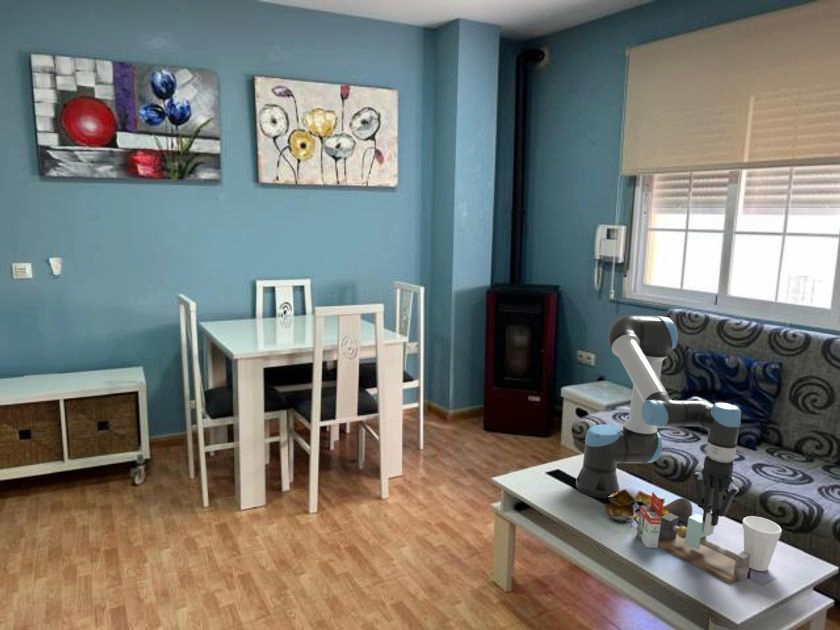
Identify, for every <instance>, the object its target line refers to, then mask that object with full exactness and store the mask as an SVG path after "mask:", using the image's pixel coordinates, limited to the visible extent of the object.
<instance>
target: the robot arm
mask: <svg viewBox="0 0 840 630" xmlns="http://www.w3.org/2000/svg"><path fill="white" fill-rule="evenodd" d="M678 338H679V334H678V331H677V327H676V324H675V323H674V321H673V320H672V319H670V318H669V317H667V316H666V317H665V316H660V315H633V314H632V315H631V314H629V315H624V316H621V317H618V318H617V320H615V321H614V322H613V323H612V325H611V326H610V327H609V331H608V335H607V341H608V346H609V348H610V350H611V352H612V354H613V355H615V356H616V357H618V358H619V361H620V362H621V364H622V366H623V367H624V369H625V371H626V373H627V375H628V376H629V379H630V381H631V383H632V392H631V398H630V405H629V406H630V407H629V415H628V419H627V420H626V421H625V422H623V427H622V429H620V428H619V427H618V426H616V425H612V424H601V423H600V424H595V425H593V426H590V427H589V428H588V429H587V431H586V435H585V439H584V442H585V443H584V450H583V461H582V466H581V470H580V471H579V473H578V476H577V477H576V479H575V480H576V481H575V487H576V489H577V490H578V491H579V492H581V493H582V494H584V495H586V496H590V497H593V498H597V499H608V498H607V497H608V496H610V495H611V494H613V493H616V492H618V491H620V485H619V480H618V476H617V467H618V466H617V465H618V464H649V463H654V462H655V461H657V460H658V459H659V458H660V457H661V454H662V451H663V441H662V440H663V439H662V436H661V433H659V432H658V428H657V427H674V426H675V427H677V426H678V427H701V428H702V429H703V430H705V431H708V433H707V438H706V439H707V441H706V449H705V454H706V455H705V456H704V461H703V469H701V472H700V471H697V472H695V473H693V474H692V477H693V479H694V482H695V483H694V484H695V492H696V502H697V507H698V508H699V509H700V508H701V509H702V511H703V513H702V514H703V515H702V516H703V521H704V522H705V526H704V533H703V534H705V535H707V537H710V536H711V535H713V534H714V530H715V529H714V528H715V526H718V523H719V517H720V518H721V517H723V516H726V515H727V513H728V512H729V509H730V507H731V505H732V504H733V500H734V498H735V496H736V494H738V493H739V492H740V491H741V488H740V487H739V486H736V485H735V483H733V477H732V475H733V471H734V465H735V464H734V463H735V461H734V460H735V458H736V451H737V444H738V438H739V433H740V427H741V421H742V420H741V416H742V410H741V408H740V407H738V406H737V405H734V404H731V403H726V402H714V403H712V402H710V401H709V400H708V399H707V400H706V399H705V398H701V397H699V396H692V397H690V398H688V399H687V400H677V399H676V400H675V399H674V400H672V398H671V396H670V395H669V394H668V391H667V390H666V388H665V386H664V385H663V383H662V382H661V373H662V365H663V362H664V360H665V359H666V358H668V356H669V351H672V350H674V349H675V348H676V346H678V345H677V344H678V340H679V339H678ZM704 482H705V483H704ZM726 488H728V492H727V494H726V496H725V498H724V500H723V497H724V493H725V489H726ZM722 501H723V502H722Z"/></svg>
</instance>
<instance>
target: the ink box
mask: <svg viewBox="0 0 840 630" xmlns="http://www.w3.org/2000/svg"><path fill="white" fill-rule="evenodd" d="M663 509H664V503H663V502H662V500H660V498H659V497H658V495H656V493H654V491H652V492H651V501H650V505H640V508H639V514H638V515H639V516H638V521H637V522H638V525H637V531H636V535H637V536H638V538H639V539H640V540H641V542H642V543H643V545H644V547H645V548H650V549H651V548H653V549H658V544H659V541H658V539H659V532H660V525H661V517H662V510H663Z"/></svg>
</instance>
